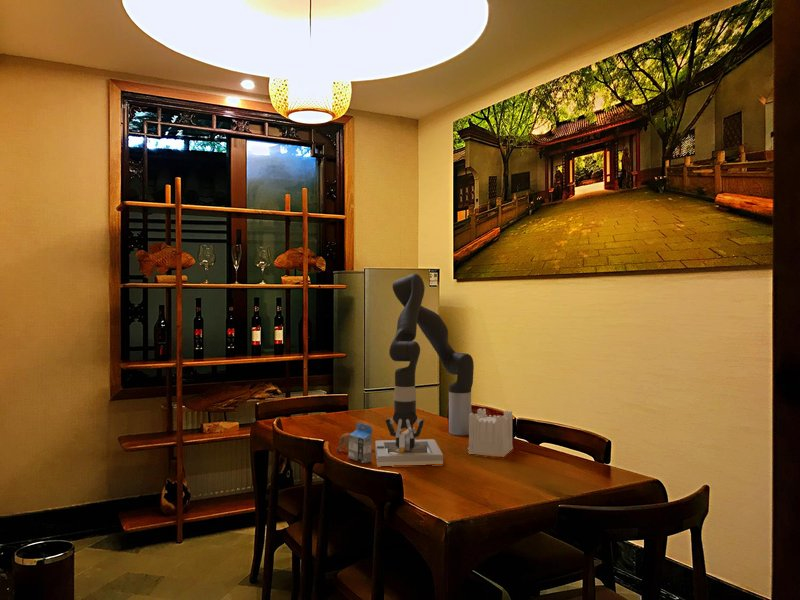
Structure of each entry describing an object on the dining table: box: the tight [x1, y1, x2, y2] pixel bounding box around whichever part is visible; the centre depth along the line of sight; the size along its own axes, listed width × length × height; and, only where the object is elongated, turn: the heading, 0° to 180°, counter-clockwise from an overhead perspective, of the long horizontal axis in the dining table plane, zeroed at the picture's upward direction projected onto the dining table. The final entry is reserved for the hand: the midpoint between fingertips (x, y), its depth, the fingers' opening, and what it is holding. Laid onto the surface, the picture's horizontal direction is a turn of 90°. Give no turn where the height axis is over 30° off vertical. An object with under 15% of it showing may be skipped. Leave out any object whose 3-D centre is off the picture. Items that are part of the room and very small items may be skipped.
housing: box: [374, 438, 444, 468], centre depth 211 cm, size 22×22×4 cm
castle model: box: [467, 408, 514, 457], centre depth 218 cm, size 13×15×14 cm
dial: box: [388, 427, 427, 454], centre depth 211 cm, size 14×14×8 cm
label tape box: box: [348, 421, 373, 464], centre depth 208 cm, size 9×4×12 cm, turn 40°
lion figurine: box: [335, 424, 373, 454], centre depth 220 cm, size 15×5×9 cm, turn 121°
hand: (405, 448), depth 207 cm, fingers open, 3 cm apart
